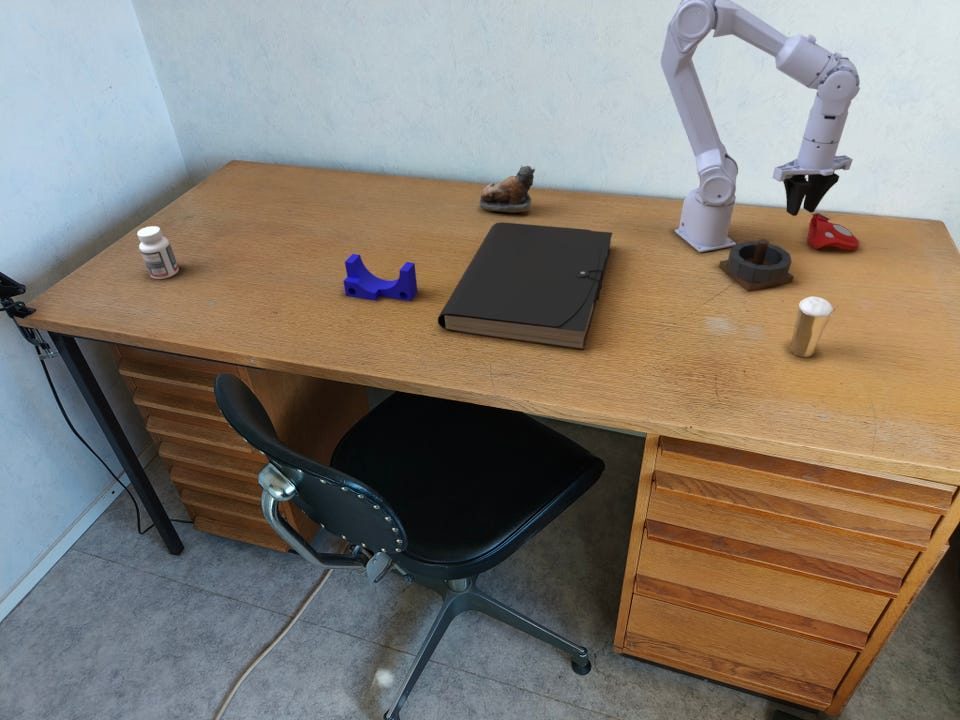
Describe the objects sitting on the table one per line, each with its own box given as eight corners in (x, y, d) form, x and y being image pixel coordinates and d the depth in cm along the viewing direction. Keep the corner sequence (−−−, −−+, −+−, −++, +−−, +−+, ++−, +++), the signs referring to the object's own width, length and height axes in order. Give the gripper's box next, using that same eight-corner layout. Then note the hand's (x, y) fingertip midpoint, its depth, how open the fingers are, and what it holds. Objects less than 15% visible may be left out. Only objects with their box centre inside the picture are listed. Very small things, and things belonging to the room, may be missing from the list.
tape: (716, 260, 121) (719, 246, 119) (763, 251, 123) (767, 237, 121) (749, 287, 113) (753, 273, 111) (799, 277, 115) (803, 263, 114)
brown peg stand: (718, 266, 121) (725, 234, 117) (760, 258, 123) (769, 225, 119) (748, 291, 114) (756, 257, 110) (792, 282, 116) (802, 248, 112)
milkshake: (806, 366, 98) (826, 310, 92) (778, 347, 102) (795, 292, 96) (828, 357, 100) (849, 301, 93) (799, 339, 103) (818, 284, 97)
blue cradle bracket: (345, 295, 118) (340, 266, 114) (357, 282, 121) (352, 253, 117) (407, 305, 114) (403, 276, 111) (417, 292, 118) (414, 263, 114)
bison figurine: (475, 214, 141) (474, 169, 135) (484, 200, 147) (483, 156, 140) (530, 219, 139) (531, 174, 132) (537, 205, 144) (538, 160, 138)
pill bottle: (168, 263, 129) (153, 221, 123) (184, 270, 126) (170, 228, 121) (144, 275, 126) (127, 233, 120) (160, 282, 123) (144, 240, 118)
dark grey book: (586, 329, 100) (436, 310, 106) (585, 350, 103) (438, 331, 109) (613, 230, 125) (491, 220, 131) (612, 250, 127) (491, 238, 133)
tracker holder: (872, 240, 125) (845, 243, 119) (856, 259, 128) (830, 263, 122) (822, 204, 131) (795, 206, 126) (808, 223, 134) (781, 225, 128)
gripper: (800, 151, 107) (780, 228, 115) (874, 139, 110) (849, 214, 118) (773, 137, 112) (755, 211, 121) (844, 126, 115) (821, 199, 124)
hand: (799, 212), depth 120 cm, fingers open, 3 cm apart
